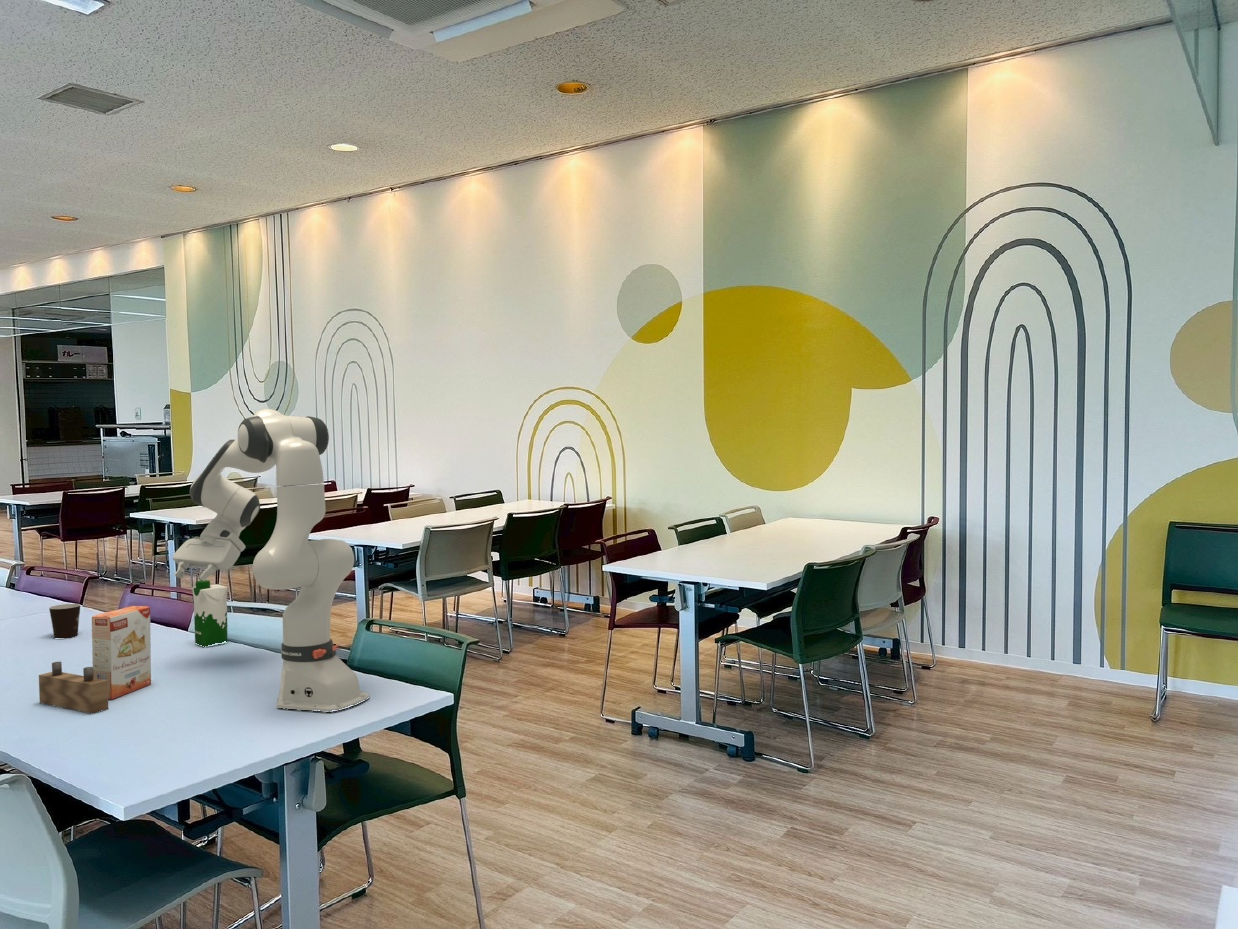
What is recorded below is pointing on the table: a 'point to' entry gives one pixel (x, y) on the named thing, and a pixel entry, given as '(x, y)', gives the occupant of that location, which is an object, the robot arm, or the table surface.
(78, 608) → the coffee mug
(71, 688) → the walnut bar
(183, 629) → the table surface
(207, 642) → the milk carton
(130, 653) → the cracker box
